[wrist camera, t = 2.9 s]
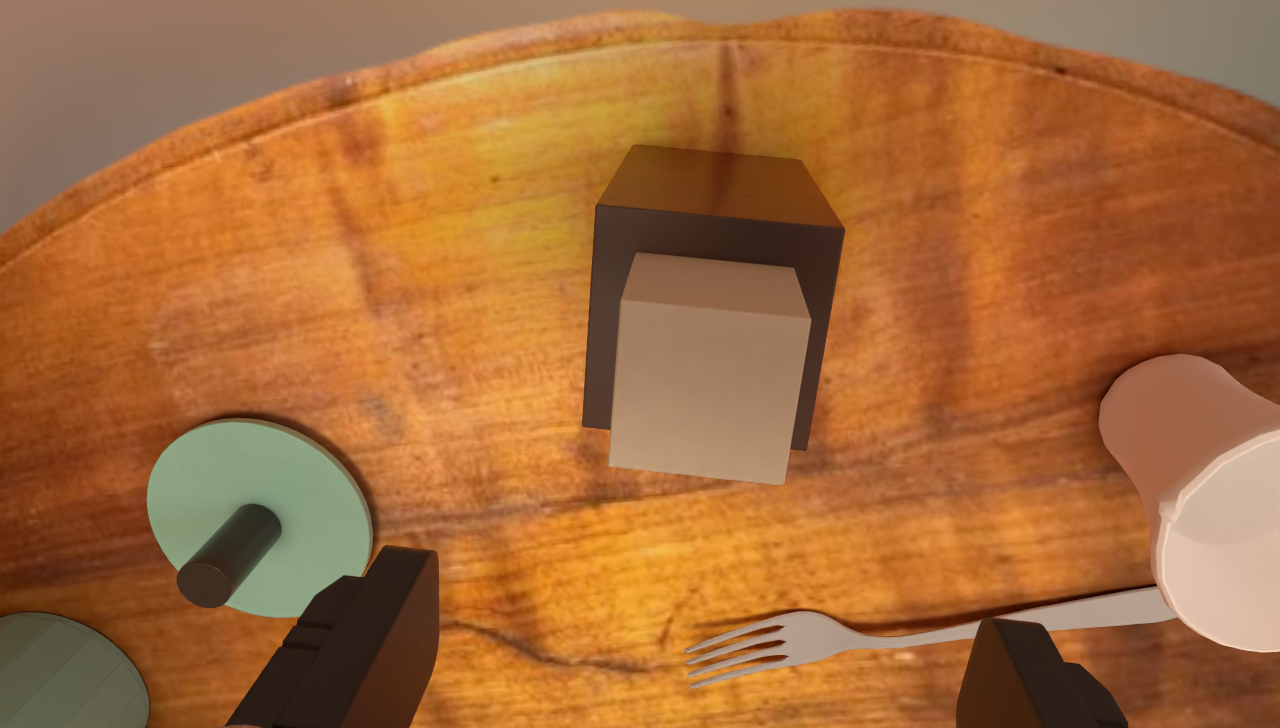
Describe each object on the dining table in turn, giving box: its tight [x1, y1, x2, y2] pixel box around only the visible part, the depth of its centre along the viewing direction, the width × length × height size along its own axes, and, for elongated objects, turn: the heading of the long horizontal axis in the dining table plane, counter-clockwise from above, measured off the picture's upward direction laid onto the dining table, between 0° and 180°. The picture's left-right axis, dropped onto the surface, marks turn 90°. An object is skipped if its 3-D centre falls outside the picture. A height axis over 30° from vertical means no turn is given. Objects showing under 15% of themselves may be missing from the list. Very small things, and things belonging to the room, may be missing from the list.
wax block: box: [608, 252, 811, 485], centre depth 23 cm, size 4×4×4 cm
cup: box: [1098, 354, 1280, 652], centre depth 33 cm, size 9×9×10 cm
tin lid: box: [147, 418, 373, 618], centre depth 40 cm, size 11×11×6 cm
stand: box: [582, 145, 845, 451], centre depth 30 cm, size 7×7×12 cm
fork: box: [685, 586, 1177, 689], centre depth 41 cm, size 3×24×2 cm, turn 100°
